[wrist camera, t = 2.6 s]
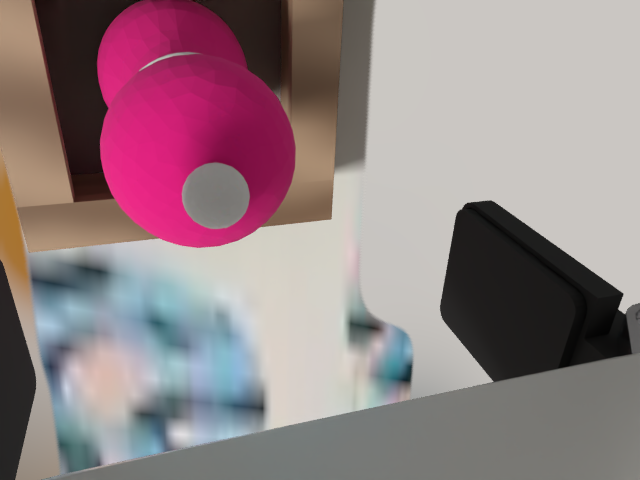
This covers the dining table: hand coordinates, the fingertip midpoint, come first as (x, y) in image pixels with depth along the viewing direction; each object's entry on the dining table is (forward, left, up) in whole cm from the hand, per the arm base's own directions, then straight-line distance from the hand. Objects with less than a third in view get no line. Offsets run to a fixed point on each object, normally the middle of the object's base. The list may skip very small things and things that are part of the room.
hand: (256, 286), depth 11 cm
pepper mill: (0, 0, -23) cm, 23 cm away
